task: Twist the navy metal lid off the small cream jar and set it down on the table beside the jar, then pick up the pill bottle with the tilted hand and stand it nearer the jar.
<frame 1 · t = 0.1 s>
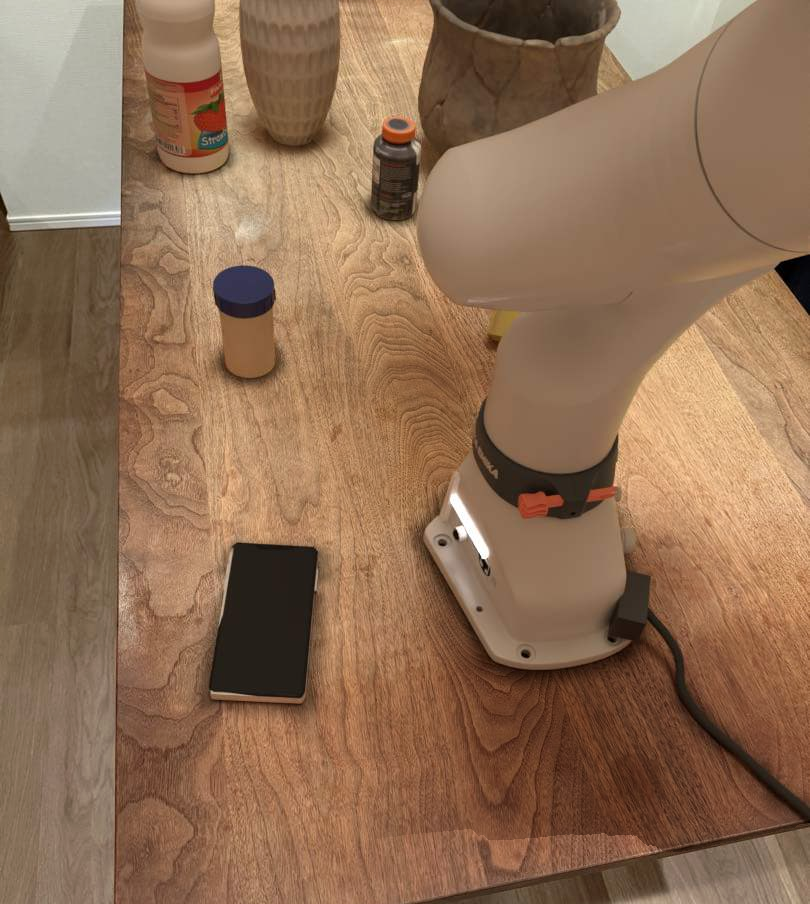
pill bottle: (392, 209, 114), on the table
vase: (293, 136, 123), on the table
yellow square tray: (527, 333, 101), on the table
fruit juice: (194, 157, 118), on the table
pot: (496, 163, 122), on the table
supplement bottle: (469, 261, 109), on the table
lid: (244, 287, 87), point 10 cm above the table, screwed on, not yet turned
jar: (250, 360, 95), on the table
smartphone: (267, 623, 76), on the table
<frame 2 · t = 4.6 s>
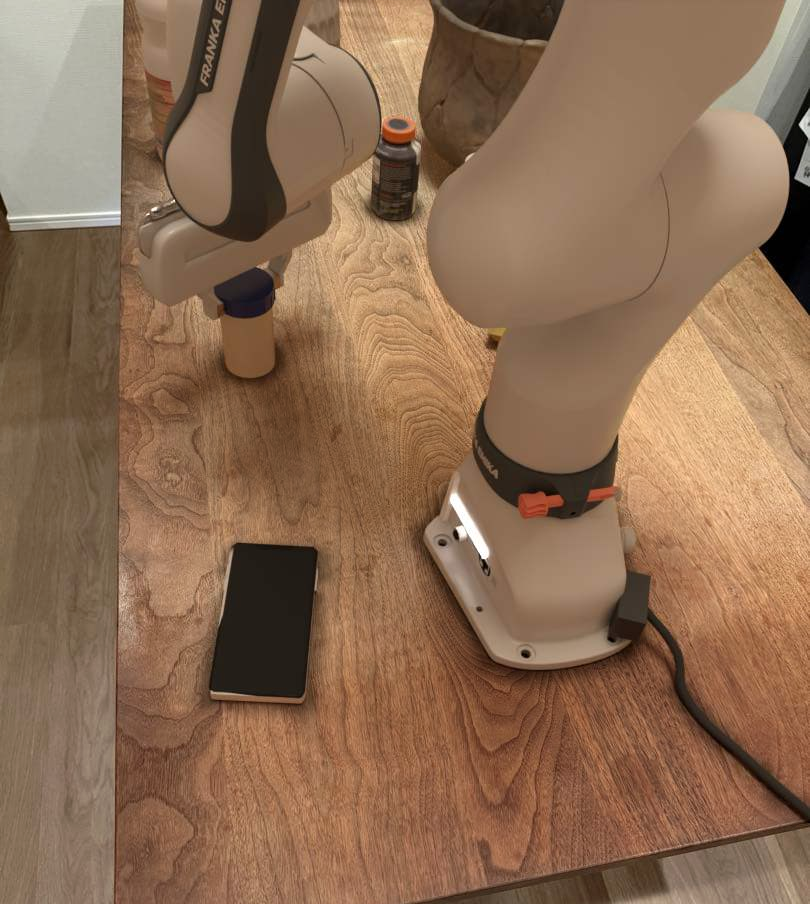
hand: (245, 300, 88), 8 cm above the table, tool pointing down, fingers closed on lid, 6 cm apart
lid: (243, 287, 87), point 10 cm above the table, screwed on, not yet turned, touching gripper
everything else where it was.
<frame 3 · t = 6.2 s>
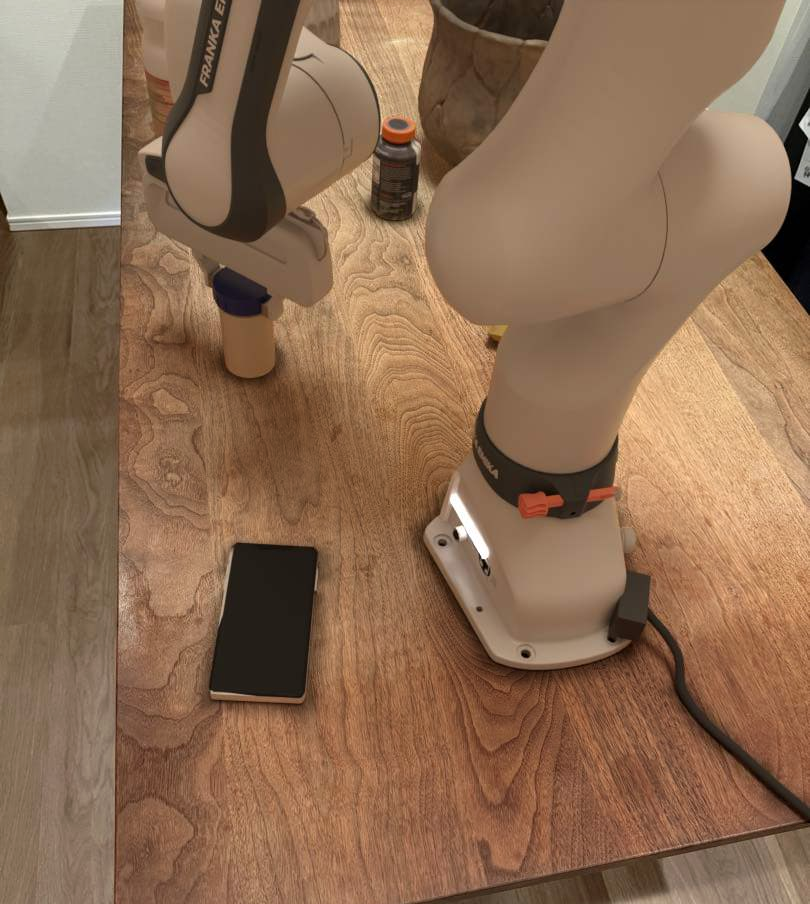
hand: (243, 300, 88), 8 cm above the table, tool pointing down, fingers closed on lid, 6 cm apart
lid: (243, 284, 87), point 10 cm above the table, turned 102° so far, risen 0.3 cm, still on its thread, touching gripper
everything else where it was.
when the fingers open (0 cm above the table, at t = 14.9 s): lid stays where it is, point 1 cm above the table.
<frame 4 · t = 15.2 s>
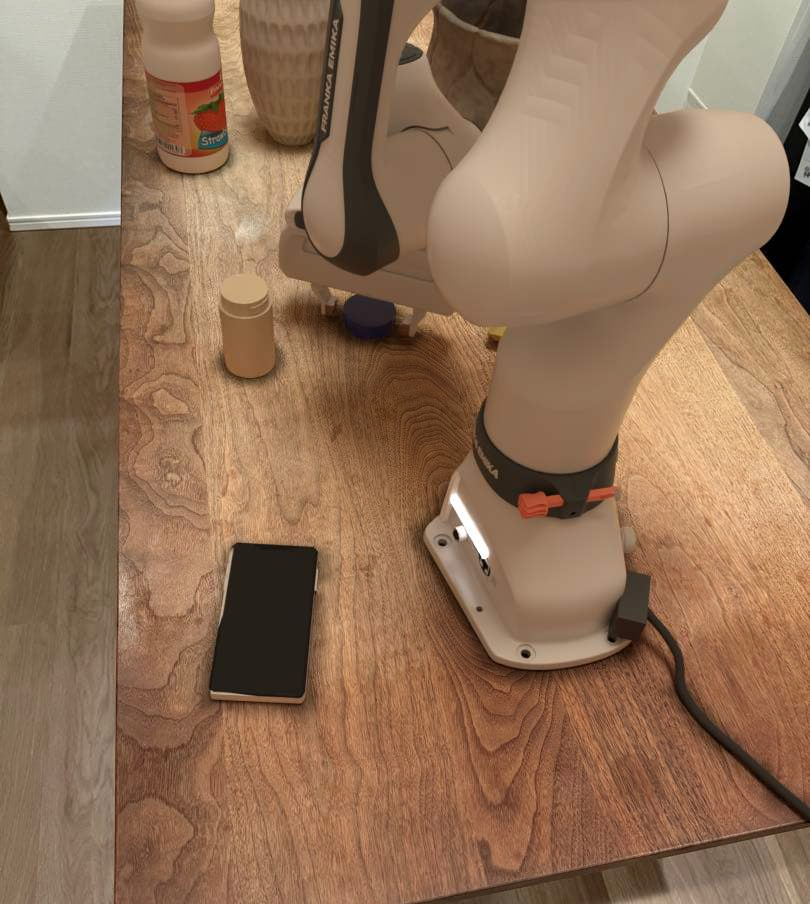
hand: (369, 322, 99), 0 cm above the table, tool pointing down, fingers open, 8 cm apart
lid: (369, 312, 99), point 1 cm above the table, off its thread
everything else where it was.
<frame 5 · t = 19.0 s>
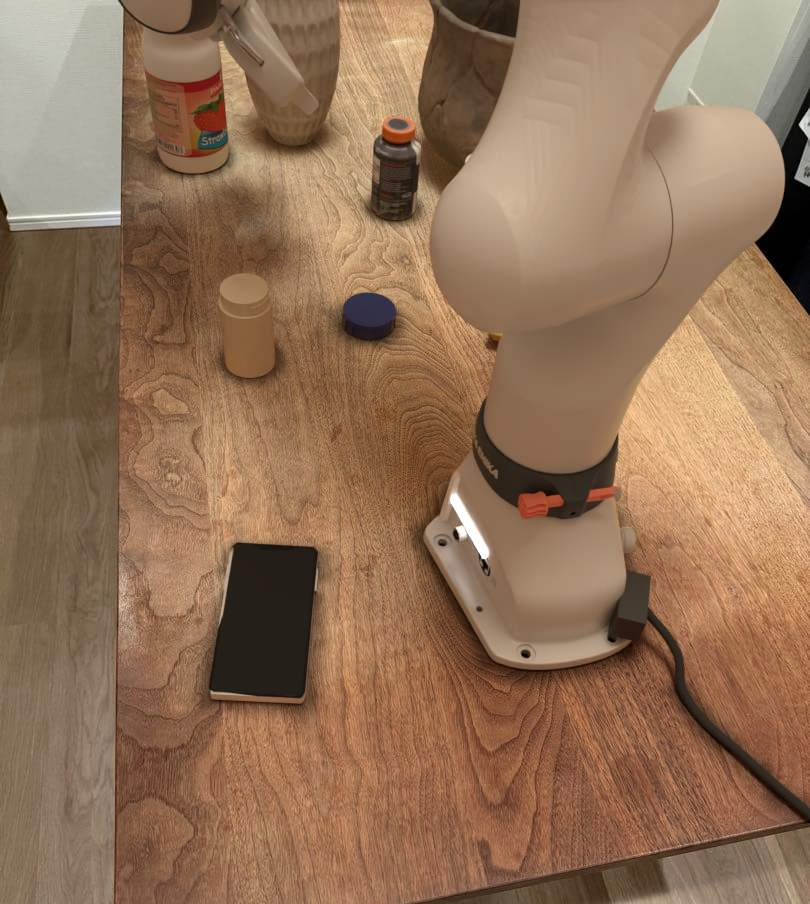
hand: (301, 88, 97), 17 cm above the table, tool tilted 40°, fingers open, 8 cm apart
nothing on the table moved.
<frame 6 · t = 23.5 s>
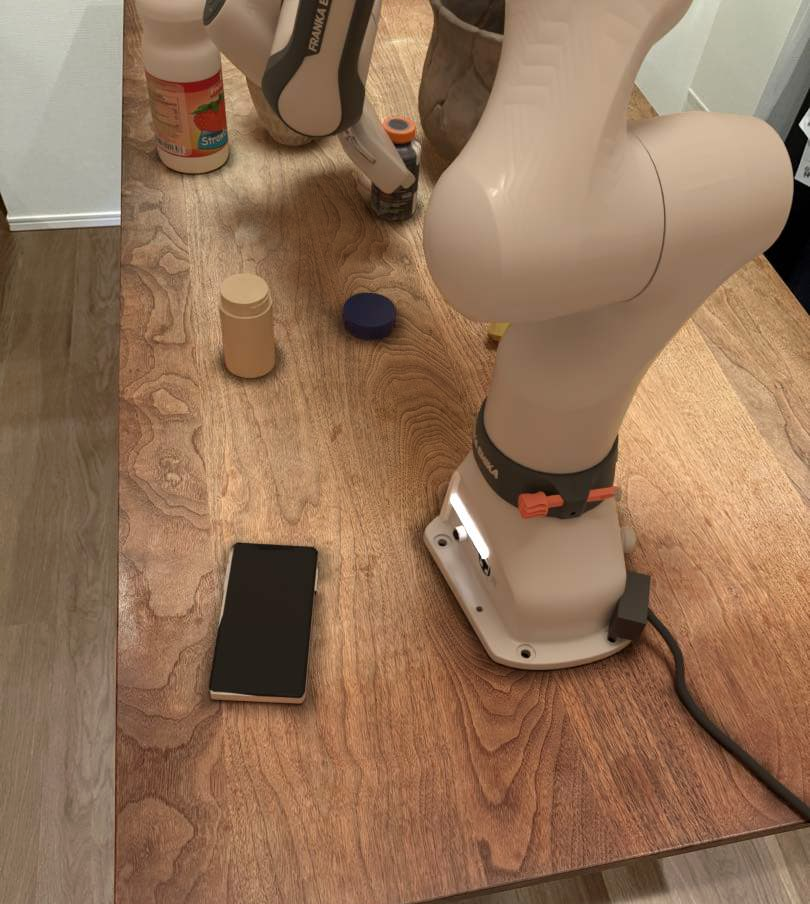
hand: (400, 165, 109), 6 cm above the table, tool tilted 45°, fingers closed on pill bottle, 6 cm apart
pill bottle: (392, 209, 114), on the table, touching gripper
everything else where it was.
when the fingers open (6 cm above the table, at t = 31.4 s): pill bottle stays where it is, on the table.
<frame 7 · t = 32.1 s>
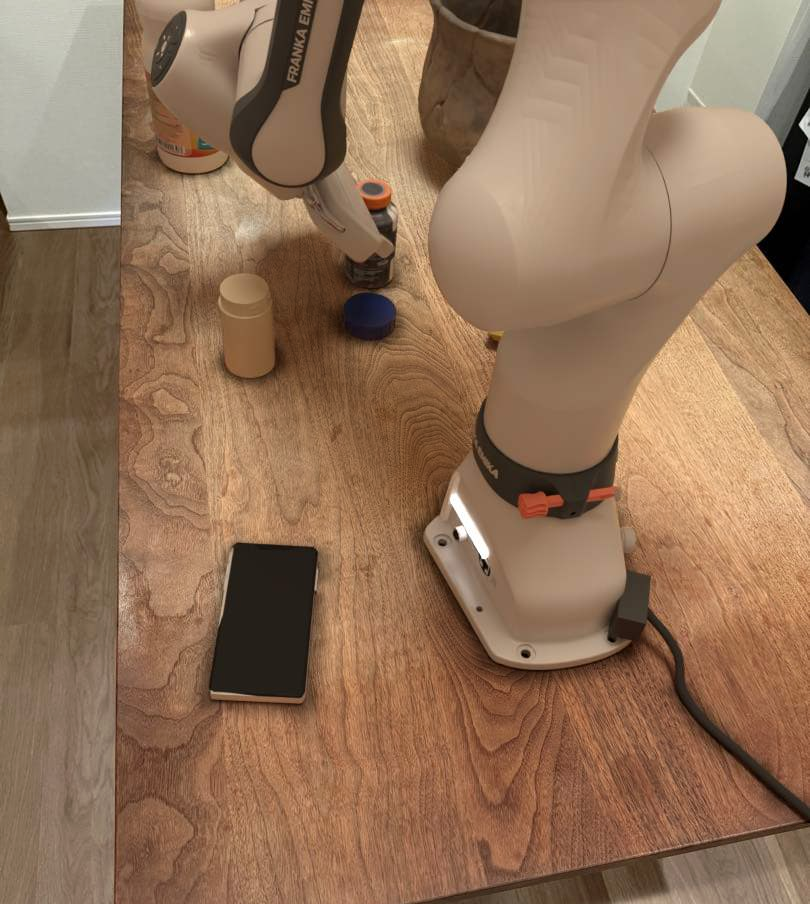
hand: (376, 225, 100), 7 cm above the table, tool tilted 45°, fingers open, 8 cm apart
pill bottle: (368, 275, 105), on the table
everything else where it was.
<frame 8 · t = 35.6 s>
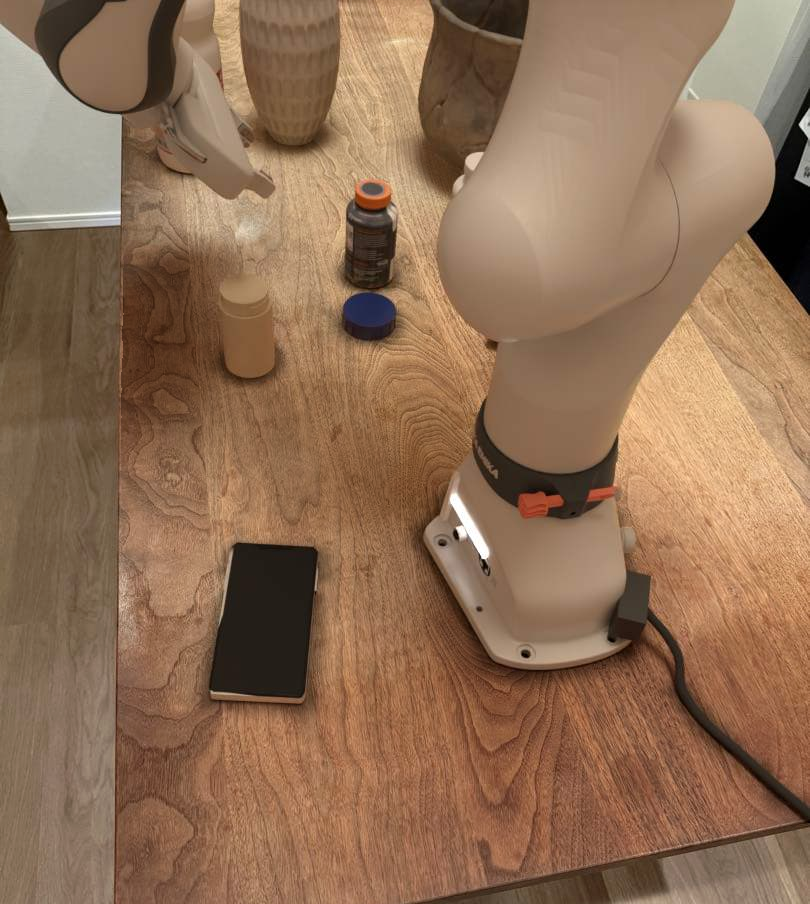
hand: (260, 164, 90), 15 cm above the table, tool tilted 45°, fingers open, 8 cm apart
nothing on the table moved.
at the end: lid point 1.5 cm above the table; the gripper is holding nothing; pill bottle inside the target area (0.0 cm from its centre), on the table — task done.
